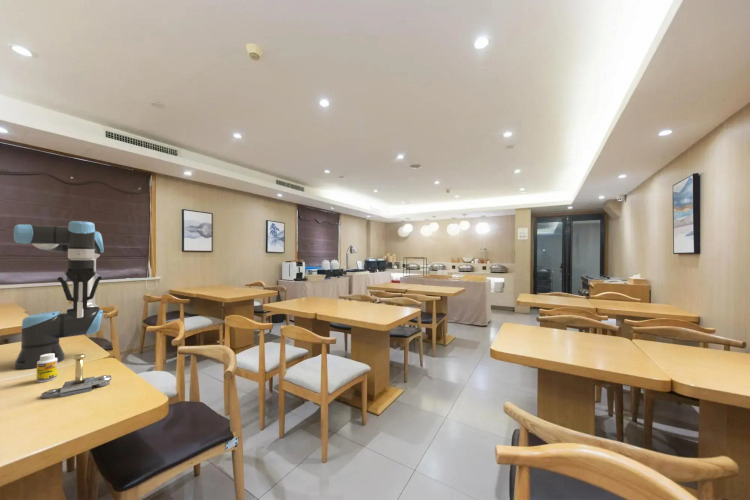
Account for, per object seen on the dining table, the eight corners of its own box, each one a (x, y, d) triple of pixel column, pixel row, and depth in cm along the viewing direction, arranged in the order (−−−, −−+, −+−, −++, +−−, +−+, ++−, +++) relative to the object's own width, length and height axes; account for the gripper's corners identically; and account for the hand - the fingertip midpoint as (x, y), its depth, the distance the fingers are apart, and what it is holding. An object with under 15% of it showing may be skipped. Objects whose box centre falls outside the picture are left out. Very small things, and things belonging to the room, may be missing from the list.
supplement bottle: (33, 384, 113) (34, 358, 113) (39, 378, 118) (40, 353, 118) (54, 380, 116) (54, 355, 116) (59, 375, 121) (59, 351, 121)
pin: (73, 389, 109) (74, 355, 109) (84, 387, 111) (85, 353, 111) (72, 392, 106) (73, 357, 107) (83, 390, 108) (84, 355, 109)
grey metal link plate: (44, 393, 106) (44, 384, 106) (112, 379, 117) (112, 371, 117) (38, 401, 100) (38, 392, 100) (110, 386, 111) (110, 378, 111)
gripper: (55, 259, 109) (54, 321, 110) (102, 259, 118) (101, 316, 118) (59, 259, 115) (58, 317, 115) (104, 258, 123) (103, 313, 124)
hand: (80, 317), depth 117 cm, fingers closed
